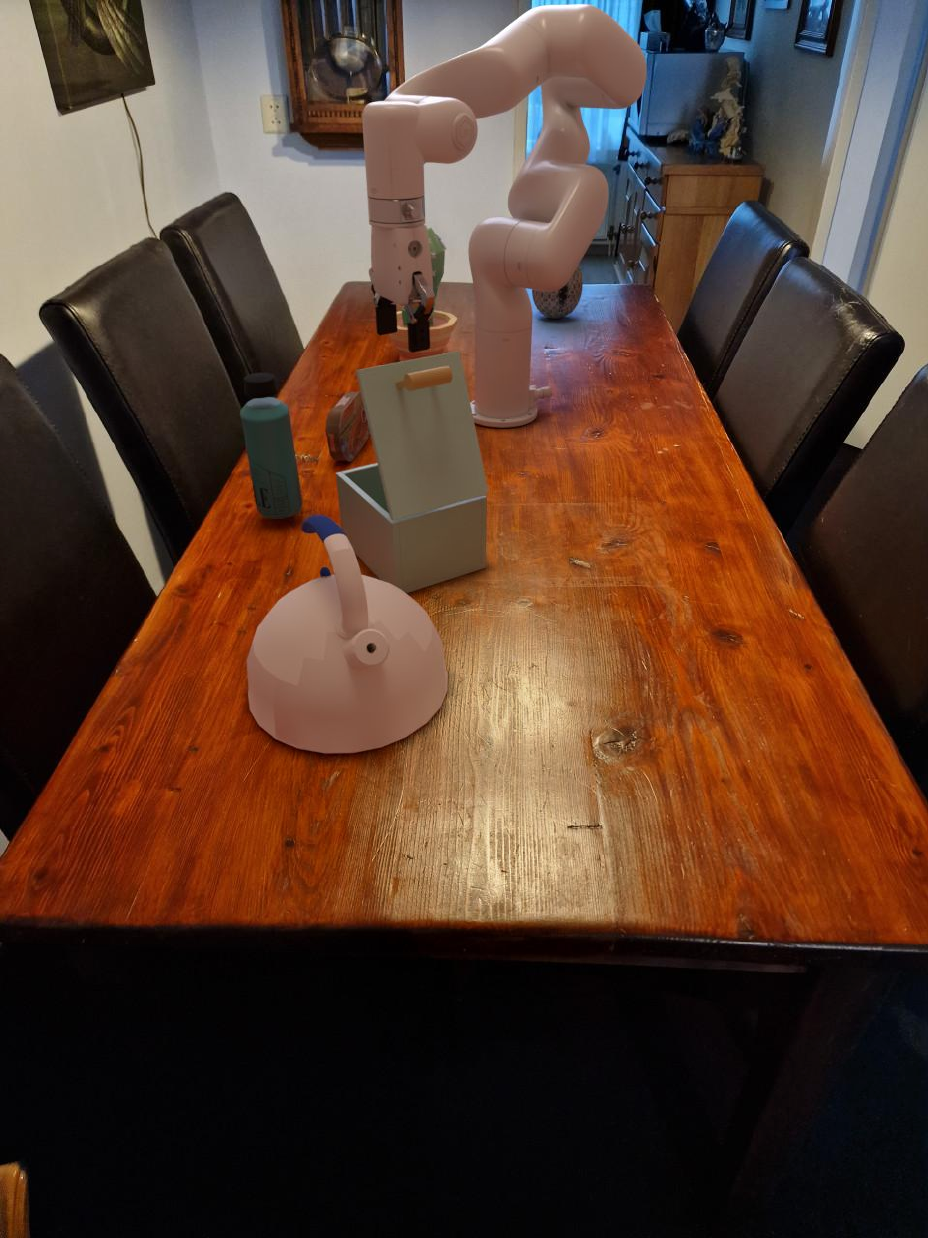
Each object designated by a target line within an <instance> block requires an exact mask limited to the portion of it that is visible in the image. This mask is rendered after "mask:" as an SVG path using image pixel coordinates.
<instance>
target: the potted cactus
mask: <svg viewBox="0 0 928 1238" xmlns="http://www.w3.org/2000/svg"><path fill="white" fill-rule="evenodd" d="M426 229H427V234H428V239H429V246H430V254H431V264H432V278H433V292H434V294H435V300H434V304H433V312H432V314H431V321H429V323H430V349H428V350H424V351H419V352H414V353H412V352H410V351H409V349H408V326H407V323H410V319H409V316H408V314H407V311H406V308H405V306H401V310H399V311H397V329H398V330H397V332H396V333H391V334H388V337H389V340H390V342H391V344H392V345H393V347H394V348H395V349H396V351H397V352H398V354H399V357H398V360H399V362H402V361H407V360H412V359H418V358H423V357H428V356H433V355H439V354H443V352H444V350H445V348H446V346H447V345H448V344H449V341H450V339H451V336H452V332H454V330H455V329H456V327H457V323H458V318H457V317H456V315H454V314H453V313H451V312H446V311H443V310H437V309H435V306H436V301H437V295H438V290H439V287H440V284H441V282H442V279H443V277H444V274H445V260H446V259H445V258H446V257H445V256H446V250H447V247H446V245H445V244H444V242H443V240H442V238H441V237H440V236H439V235H438V234H437V233H435V231H434V229H433V228H432V227H429V228H428V227H427V226H426ZM410 299H415V298H410ZM419 306H420V305H419ZM419 306H413V308H414V311H415V312H416V310H417V309H418V307H419Z"/></svg>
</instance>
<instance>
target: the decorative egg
mask: <svg viewBox="0 0 928 1238" xmlns="http://www.w3.org/2000/svg"><path fill="white" fill-rule="evenodd" d="M583 282H584V281H583V273H582V270H581V267H580V264H579V265H578V267H577V269H576V270H575V272H574V274H573V275H572V277H571V278H570V280H569V281H568V282H567V284H566V285H565V286H563V287H562V288H561V289H559V290H557V291H553V292H545V291H538V290H532V289H531V294H532V301H533V303H534V306H535V307H536V309H537V311H539V313H540V314H541V315H542V316H544V317H546V318H548V319H552V320H559V319H562V318H565V317H567V316H569V315H570V314H572V313H573V312H574V311H575V310H576V308H577V306H578V305H579V303H580V301H581V298H582V294H583V287H584V286H583Z"/></svg>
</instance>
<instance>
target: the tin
mask: <svg viewBox="0 0 928 1238" xmlns="http://www.w3.org/2000/svg"><path fill="white" fill-rule="evenodd" d="M370 435H371V434H370V430H369V426H368V421H367V417H366V413H365V409H364V404H363V400H362V396H361V392H360V391H347V392H345V393H344V394H343V395H342V397H341V398H339V400H338V401H337V402H336V403H335V404H334V406H333V407H332V408H330V410H329V412H328V414H327V417H326V421H325V436H326V442H327V447H328V452H329V456H330V458H331V459H332V460H333V461H336V462H348V463H351V462H353V461H354V460H355V458H356V457H357V456H358V454H359V453H360V452H361V450H362V449H363V447H364V446H365V444H366V443H367V442H368V440H369V438H370Z"/></svg>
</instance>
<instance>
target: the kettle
mask: <svg viewBox="0 0 928 1238" xmlns="http://www.w3.org/2000/svg"><path fill="white" fill-rule="evenodd" d="M300 530H301V532H303V533H305V534H315V533H316V534H317V536H318V538H319V539H320V541H321V542H322V543H323V544H324V547H325V549H326V553H327V555H328V558H329V562H330V564H331V568H332V571H333V574H332V573H331V570H330V569H329V568H328V567H327V566H322V567H321V568H320V570H319V576H320V577H316V578H314V579H311V580H309V581H308V582H304V584H301V585H300V586H298V587H296V588H294V589H292V590H290V591H289V592H288V593H286V594H285V595H284V596H282V597H281V598H280V599H279V600H277V602H276V603H275V604H274V605H273V607H272V608H271V609H270V610H269V611H268V612H267V614H266V615H265V616H264V618H263V619H262V620H261V622H260V623H259V624H258V626H257V628H256V630H255V634H254V636H253V640H252V642H251V646H250V649H249V652H248V655H247V658H246V671H247V682H248V683H247V685H248V686H247V687H248V692H247V697H248V707H249V711H250V712H251V714H252V716H253V717H254V719H255V721H256V723H257V724H258V726H259V727H260V728H261V729H263V730H264V731H265V732H266V733H267V734H269V735H270V736H271V737H272V738H274V739H275V740H276V741H277V740H278V741H280V742H282V743H284V744H286V745H289V746H291V747H293V748H295V749H299V750H305V751H310V752H316V753H321V754H356V753H361V752H366V751H371V750H375V749H380V748H383V747H385V746H388V745H390V744H393V743H396V742H398V741H400V740H403V739H405V738H407V737H408V736H411V734H413V733H414V732H416V731H417V730H419V729H421V727H423V726H424V725H426V724H427V723H429V721H430V720H431V719H432V718H433V717H434V715H435V714H436V713H437V712H438V711H439V710H440V709H441V707H442V705H443V703H444V699H445V697H446V695H447V693H448V688H449V687H448V681H449V679H448V675H449V673H448V671H447V667H446V660H445V652H444V645H443V641H442V639H441V637H440V634H439V632H438V630H437V628H436V626H435V624H434V623H433V621H432V619H431V618H430V616H429V614H428V612H427V611H426V610H425V609H424V608H423V607H422V606H421V604H419V603H418V602H417V601H416V600H415V599H414V598H412V597H411V596H410V595H409V594H408V593H405V592H404V591H402V590H401V589H399V588H397V587H396V586H394V585H392V584H390V583H387V582H384V581H381V580H380V579H379V578H375V577H372V576H368V575H365V574H362V572H361V568H360V564H359V562H358V559H357V555H356V554H355V553H354V550H353V548H352V546H351V544H350V542H349V540H348V539H347V537H346V534H345V533H344V532H343V530H342V529H341V525H338V524H337V523H336V522H335V521H334V520H333V519H332V518H330V517H329V516H327V515H324V514H313V515H310V516H308V517H306V518H305V520H303V522H302V524H301V527H300Z"/></svg>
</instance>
